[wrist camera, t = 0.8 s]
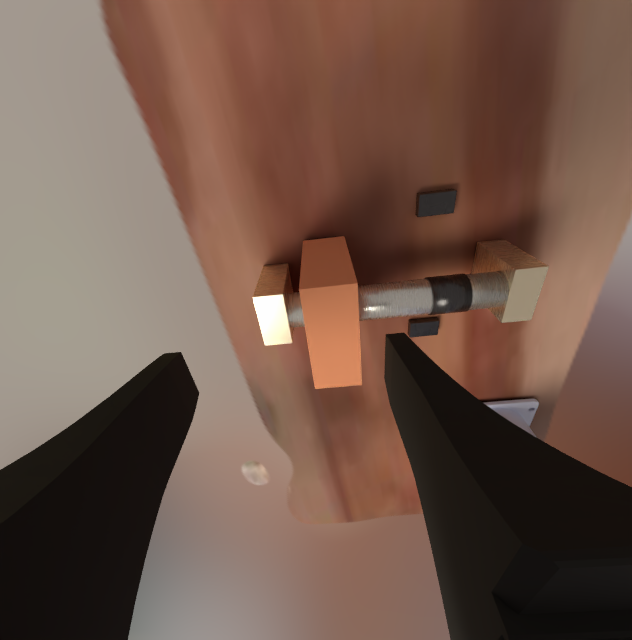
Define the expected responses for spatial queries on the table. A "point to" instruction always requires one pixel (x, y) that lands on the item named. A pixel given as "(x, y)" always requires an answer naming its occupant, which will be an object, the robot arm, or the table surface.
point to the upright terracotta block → (331, 312)
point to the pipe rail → (419, 287)
